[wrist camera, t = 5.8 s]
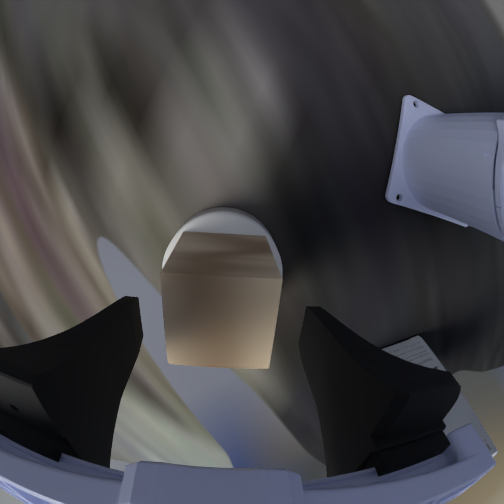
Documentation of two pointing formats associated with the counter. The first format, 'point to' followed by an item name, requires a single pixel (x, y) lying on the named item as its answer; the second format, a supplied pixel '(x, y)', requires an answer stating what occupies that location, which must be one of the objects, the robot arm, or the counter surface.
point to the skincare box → (423, 356)
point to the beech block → (220, 300)
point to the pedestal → (225, 227)
